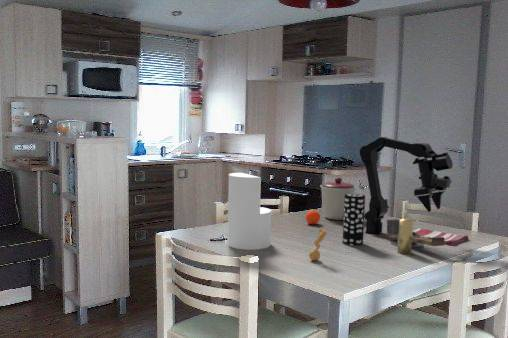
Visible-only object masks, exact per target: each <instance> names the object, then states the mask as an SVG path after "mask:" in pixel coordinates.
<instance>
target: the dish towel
mask: <svg viewBox="0 0 508 338" xmlns="http://www.w3.org/2000/svg"><path fill="white" fill-rule="evenodd" d="M412 232H416V233H418V237H424V238H429V239H432V238H437V237H444V245H446V246H447V245H448V246H452V247H453V246H456V245H458V244H461V243H464V242H466V241H468V240H469V235H466V234H465V235H461V234H460V235H459V234H452V233H448V232H447V233H446V232H443V231H442V232H441V231H436V230H432V229H431V230H430V229H425V228H418V227H417V228H414V229H412Z"/></svg>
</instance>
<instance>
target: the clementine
mask: <svg viewBox="0 0 508 338" xmlns="http://www.w3.org/2000/svg"><path fill="white" fill-rule="evenodd" d="M305 219H306V222H307V223H308V224H310V225H316V224H318V223H319V222H320V220H321V214H320V213H319V212H318V211H317V210H315V209H308V210H307V211H306V213H305Z"/></svg>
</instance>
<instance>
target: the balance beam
mask: <svg viewBox="0 0 508 338" xmlns="http://www.w3.org/2000/svg"><path fill="white" fill-rule="evenodd" d="M386 233H387V238H392V239H397V240H398V233H399V219H386ZM412 242H415V243H420V244H424V246H425V245H426V246H431V247H442V246H445V244H444V237H437V238H432V239H429V238H424V237H418V236H413V235H412Z"/></svg>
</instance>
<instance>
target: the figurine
mask: <svg viewBox="0 0 508 338" xmlns="http://www.w3.org/2000/svg"><path fill="white" fill-rule="evenodd" d="M318 233H319V234H318V237H317V238H316V240H315V241H314V242H313V245H315V247H316V248H314V249H312V250H311V251H309V254H308V257H309V259H310V260H311V261H313V262H316V261H318V260H319V259H320V258H321V252H320V251H319V249H320V246H321V245H320V243H322V241H323V240H324V238H325V237H326V235H327V231H326V230H324V229H322V228H318Z"/></svg>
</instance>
